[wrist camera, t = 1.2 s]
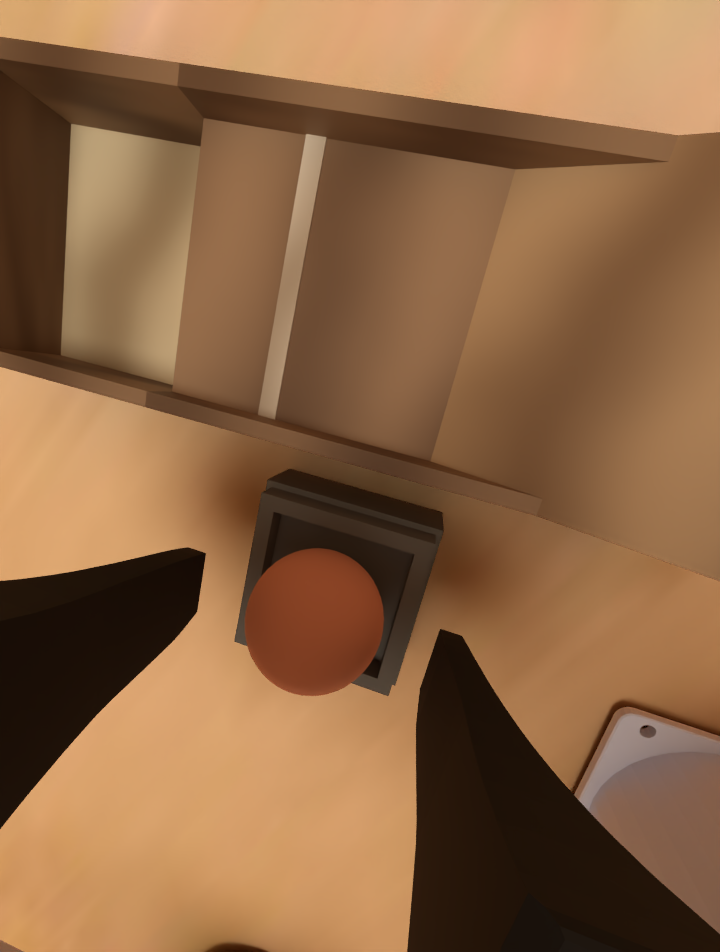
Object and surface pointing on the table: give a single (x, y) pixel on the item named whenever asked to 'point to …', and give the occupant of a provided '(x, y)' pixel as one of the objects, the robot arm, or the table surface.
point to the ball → (314, 622)
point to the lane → (376, 282)
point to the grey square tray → (351, 551)
